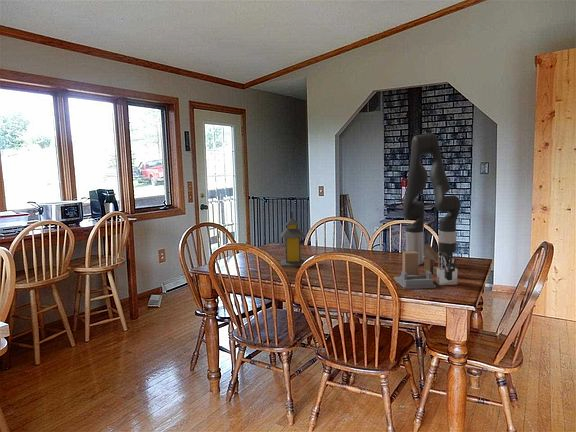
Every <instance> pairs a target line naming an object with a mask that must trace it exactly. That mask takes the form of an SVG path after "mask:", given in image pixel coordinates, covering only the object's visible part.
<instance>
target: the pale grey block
mask: <svg viewBox="0 0 576 432" xmlns="http://www.w3.org/2000/svg"><path fill="white" fill-rule="evenodd" d="M436 284H437V285H438V286H447V285H452V286H453V285H458V268H457V267H455V271H453V272H452V280H447V269H446V268H437V275H436Z"/></svg>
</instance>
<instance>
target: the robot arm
mask: <svg viewBox="0 0 576 432" xmlns="http://www.w3.org/2000/svg"><path fill="white" fill-rule="evenodd" d="M410 149H411V150H410V152H411V153H410V164H409V169H408V176H407V181H406V182H407V184H406V192H405V196H404V197H405V198H404V202H403V205H402V216H403V218H404V219H407V220H415V221H414V222H412V223H411V224H408V225H406V227H405V251H416V252H417V253H418V266H419V265H424V245H425V241H424V233H425V232H424V229H425V228H424V227H425V212H426V211H425V204H424V202H423V201H421V200H420V201H419V200H418V201H417V200H416V201H415V199H416V198H417V197H418V196H419V195H420V194H422V192H423V191H424V190H425V189H426V186H427V182H428V177H429V179H430V180H429V181H430V183H431V186H432V188H433V193H434V194H433V195H434V207H435V209H436V210H437V211H438V212H440V213H446V215H445V216H442V217H441V218H439V221H438V225H439V226H438V237H437V250H438V251H439V252H442V253H439V263H440V266H441V268H446V269H447V280H452V272H453V271H455V268H456V261H457V260H456V258H454V255H453V253H456V252H457V220H458V216H459V213H460V210H461V200H460V198H459V196H457V195H445V194H446V193H448V192H449V191H450V190H451V185H450V184H451V183H450V182H449V180H448V177H447V174H446V171H445V167H444V163H443V162H444V161H443V158H442V153H441V147H440V143H439V141H438V138H437V135H436V134H435V133H432V132H430V133H424V134H417V135H414V136H413V138H412V140H411V147H410ZM429 154H431V155H432V159H433V160H432V164H431V168H430V171H429V175H428V171H427V169H426V167H424V165H423V163H422V161H421V156H422V155H429ZM438 251H437V252H438Z"/></svg>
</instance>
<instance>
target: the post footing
mask: <svg viewBox="0 0 576 432" xmlns="http://www.w3.org/2000/svg"><path fill="white" fill-rule="evenodd" d="M401 254H402V256H401V257H402V259H401V260H402V262H401V263H402V270H401V271H400V272H401V275H399V276H393V280H395V282H396V283H397V284H398V283H399V284H400V285H401V286H402V287H403V288H404V289H403V288H402V287H401V286H400V285H399V284H398V285H399V286H400V287H401V288H402V289H403V290H411V289H412V290H415V289H416V290H417V289H436V288H437V285H436V284H435V283H434V278H433V276H432V275H433V273H431V272H430V271H428V270H425V274H419V265H418V253H417V252H416V251H406V250H405V251H402V253H401Z"/></svg>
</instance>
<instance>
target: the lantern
mask: <svg viewBox="0 0 576 432" xmlns="http://www.w3.org/2000/svg"><path fill="white" fill-rule="evenodd" d="M293 210H294V209H290V219H288V221H287V222H286V223H285V226H286V228H285V229H284V230H283V231H282V232H281V233H280V235H279V238H280V239H281V238H283V239H285V240H284V241H285V259H280V267H281V266H295V267H301V266H300V265H301V264H302V263H303V262H304V261H306V259H305V258H302V257H301V238H305V237H306V234H305V233H304V232H303V231H302V230H301V229H300V228H299V227H298V226H299V222H298V221H297V220H296V219H295V218H294V211H293ZM306 262H307V261H306Z"/></svg>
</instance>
